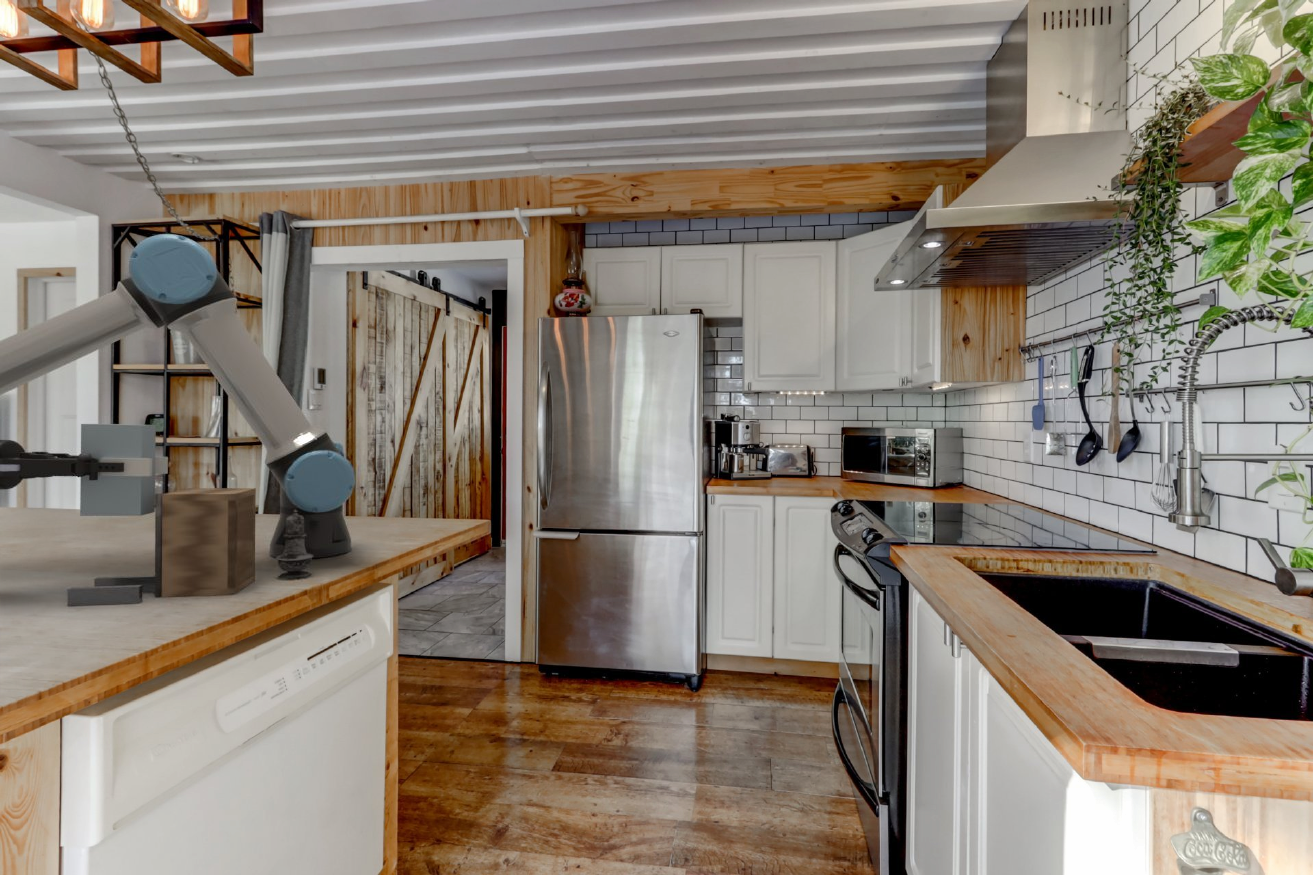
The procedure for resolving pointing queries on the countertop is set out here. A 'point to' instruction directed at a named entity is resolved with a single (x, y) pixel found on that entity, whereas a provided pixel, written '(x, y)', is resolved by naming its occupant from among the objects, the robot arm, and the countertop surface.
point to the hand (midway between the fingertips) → (158, 466)
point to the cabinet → (204, 541)
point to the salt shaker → (294, 550)
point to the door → (117, 490)
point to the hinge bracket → (112, 591)
